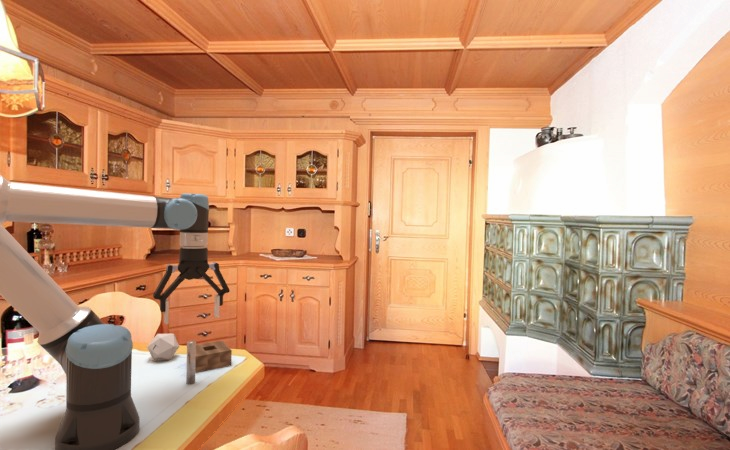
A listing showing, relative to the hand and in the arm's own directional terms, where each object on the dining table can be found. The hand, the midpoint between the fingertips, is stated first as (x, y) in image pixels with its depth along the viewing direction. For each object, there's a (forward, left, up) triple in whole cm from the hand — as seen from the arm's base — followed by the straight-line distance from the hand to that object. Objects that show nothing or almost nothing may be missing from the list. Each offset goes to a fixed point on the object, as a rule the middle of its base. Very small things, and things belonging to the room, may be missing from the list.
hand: (192, 319), depth 110 cm
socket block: (+8, +12, -18) cm, 23 cm away
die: (-4, +24, -19) cm, 31 cm away
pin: (0, 0, -18) cm, 19 cm away
